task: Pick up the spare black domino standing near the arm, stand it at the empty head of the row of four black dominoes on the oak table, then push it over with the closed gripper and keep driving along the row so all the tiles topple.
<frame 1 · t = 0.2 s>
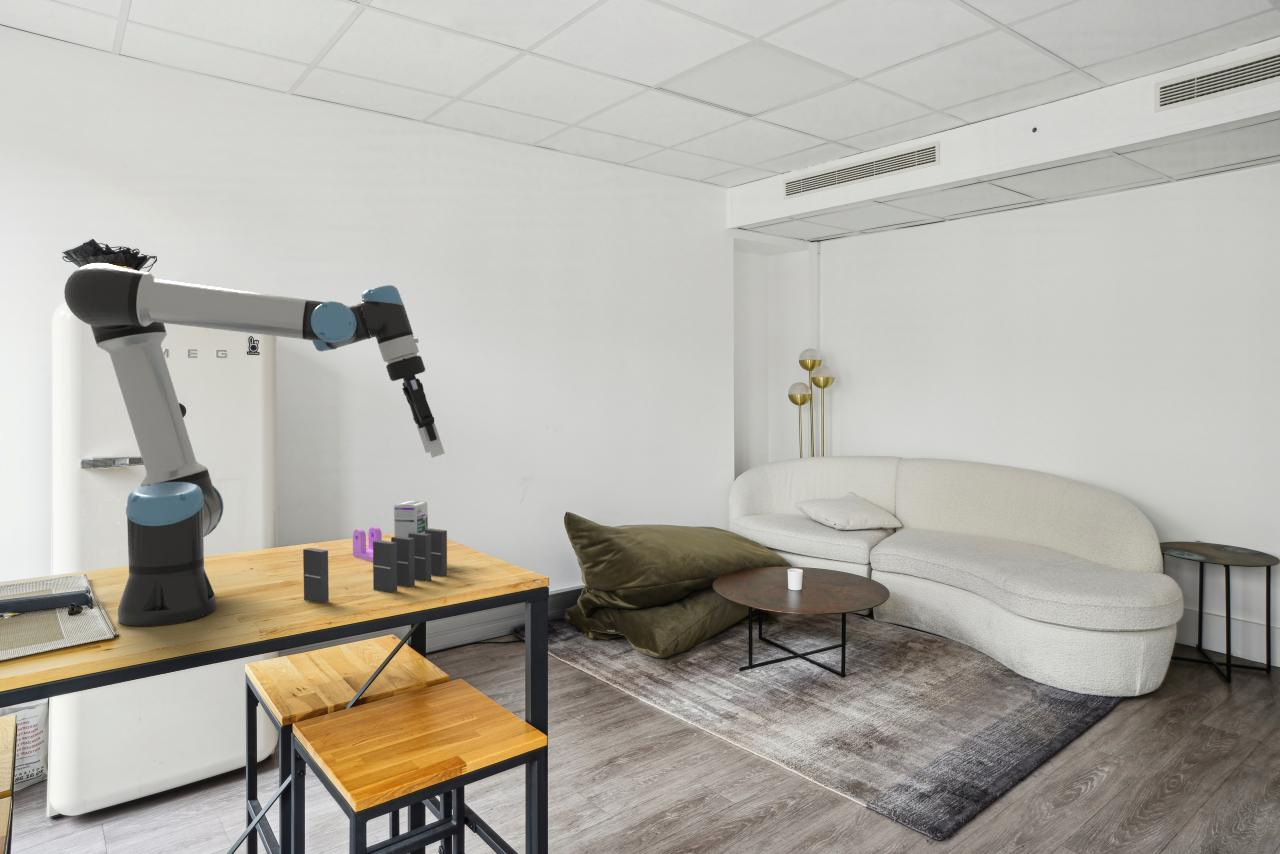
hand: (435, 453, 165), 27 cm above the table, tool tilted 20°, fingers open, 13 cm apart
domino 5: (435, 574, 170), on the table
domino 3: (403, 584, 161), on the table
bracket: (377, 560, 185), on the table
domino 4: (419, 579, 166), on the table
domino 2: (385, 590, 157), on the table
syrup box: (411, 564, 180), on the table
domino 1: (316, 600, 149), on the table
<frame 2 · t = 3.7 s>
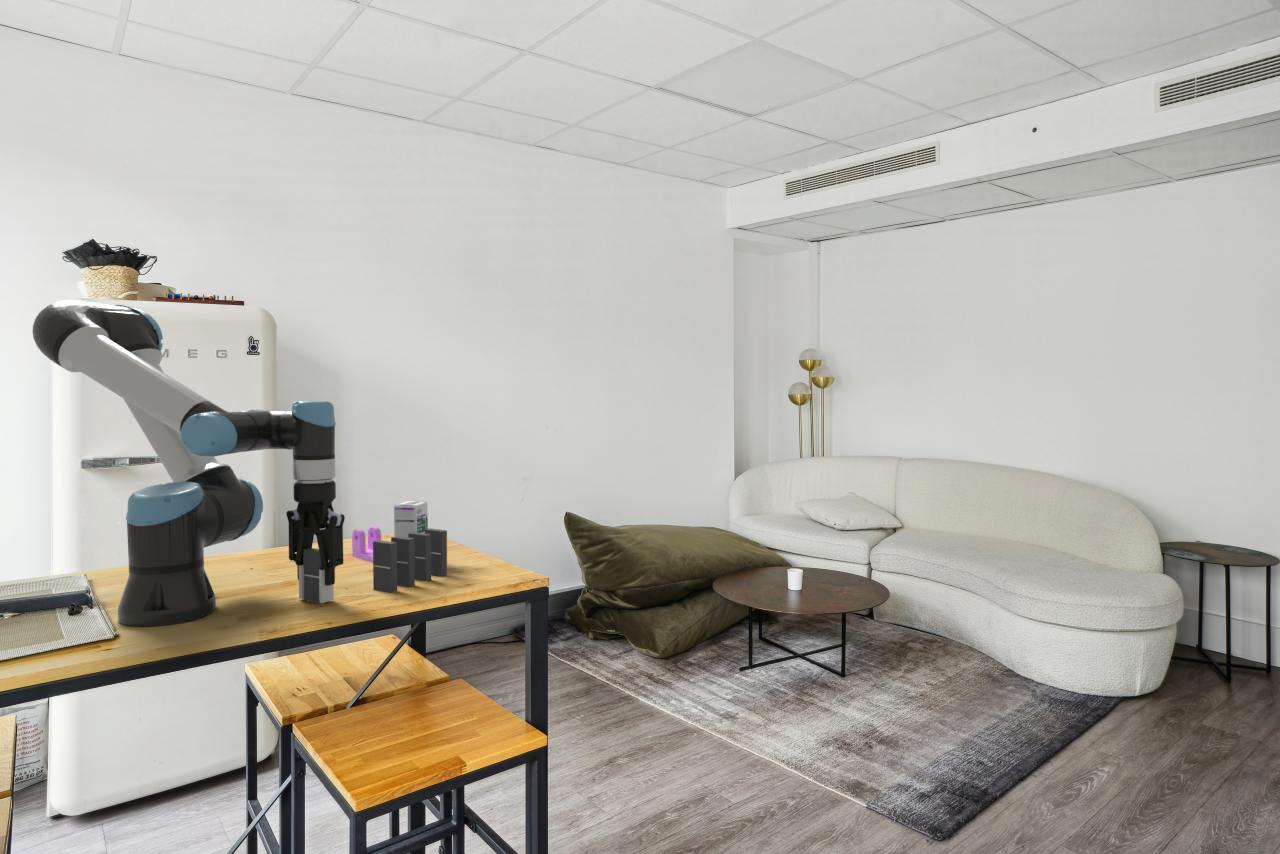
hand: (316, 599, 149), 0 cm above the table, tool pointing down, fingers closed on domino 1, 5 cm apart
domino 1: (316, 600, 149), on the table, touching gripper
everything else where it was.
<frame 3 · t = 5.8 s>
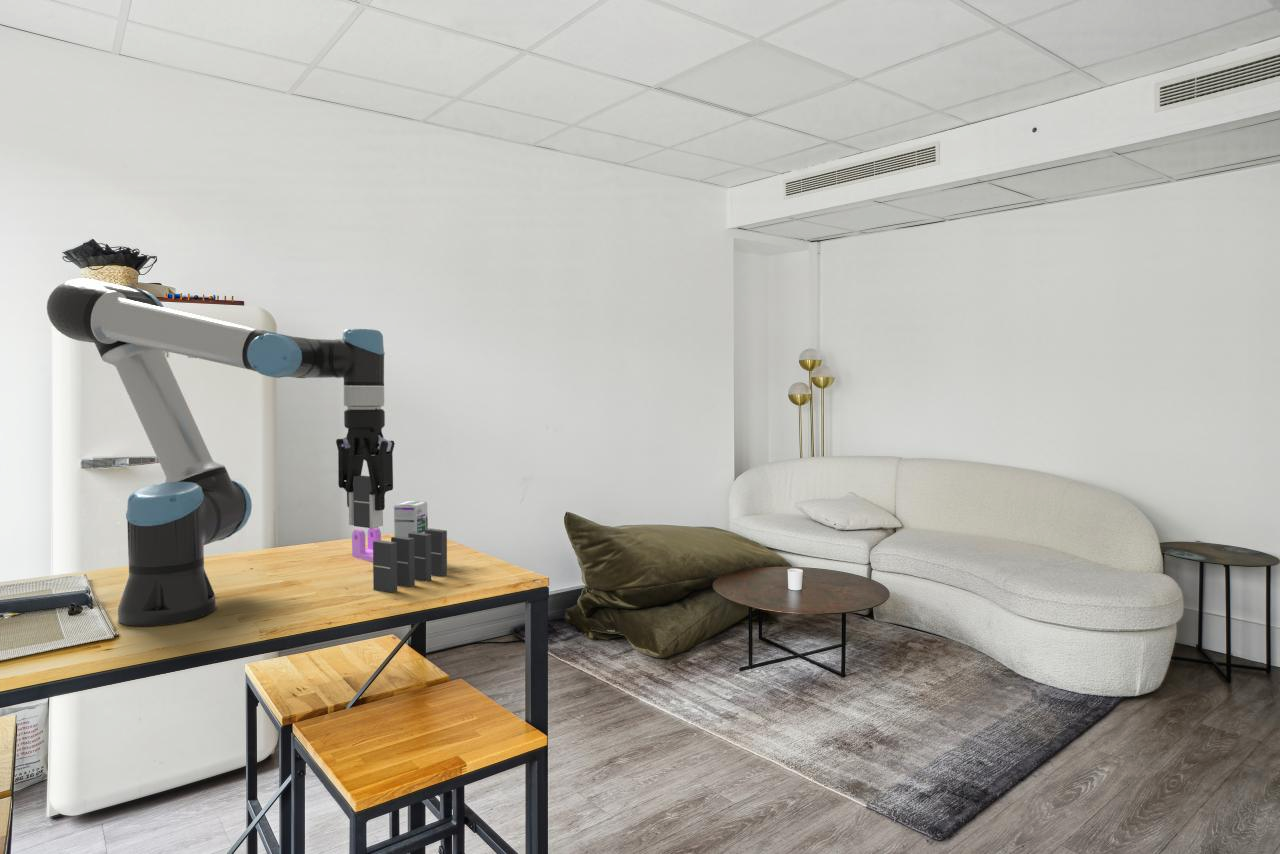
hand: (366, 525, 151), 14 cm above the table, tool pointing down, fingers closed on domino 1, 5 cm apart
domino 1: (365, 526, 151), point 14 cm above the table, touching gripper
everything else where it was.
when the fingers open (1 cm above the table, at t = 8.3 s): domino 1 stays where it is, on the table.
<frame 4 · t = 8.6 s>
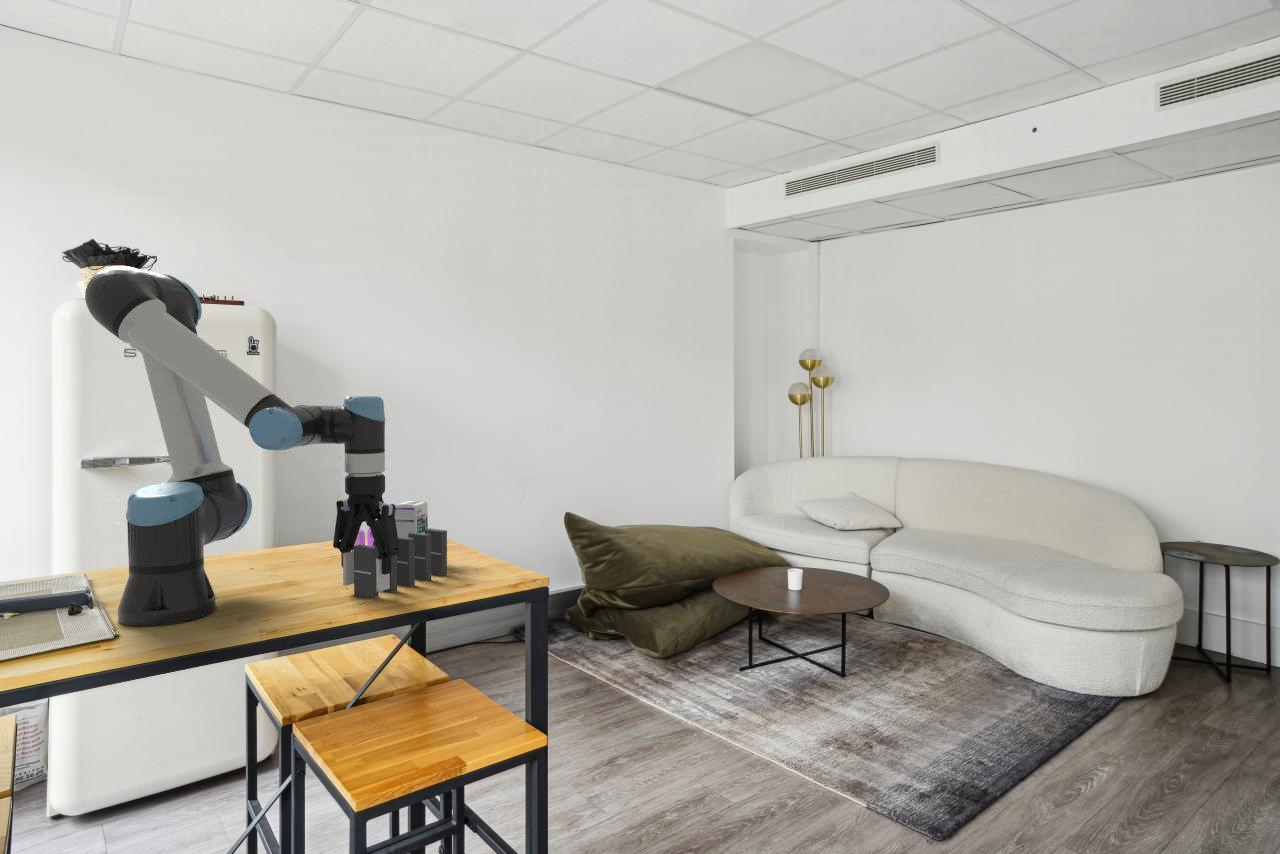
hand: (366, 586, 152), 2 cm above the table, tool pointing down, fingers open, 8 cm apart
domino 1: (366, 596, 152), on the table
everything else where it was.
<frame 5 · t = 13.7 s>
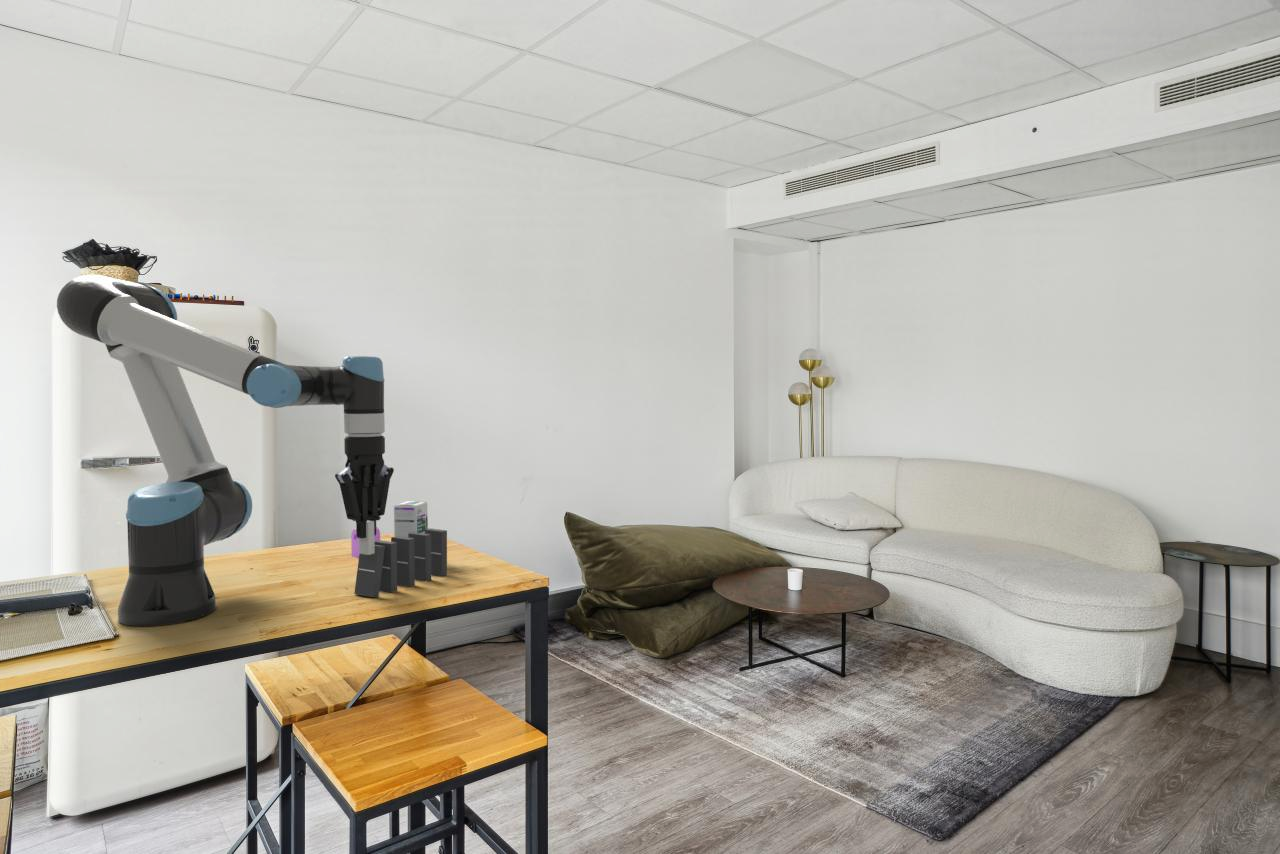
hand: (366, 553, 151), 9 cm above the table, tool pointing down, fingers closed
domino 1: (366, 595, 152), on the table, tilted 10°
everything else where it was.
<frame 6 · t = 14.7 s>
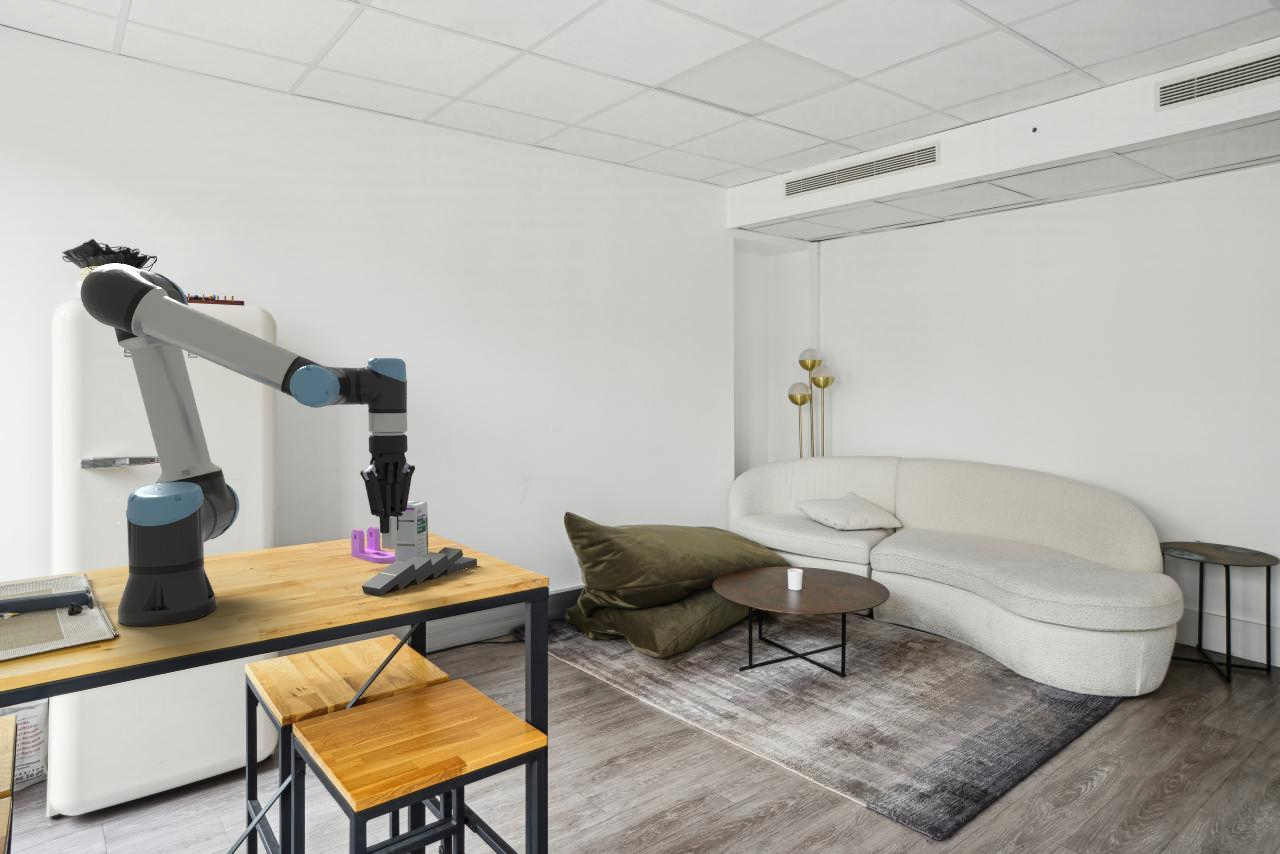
hand: (389, 547, 157), 9 cm above the table, tool pointing down, fingers closed
domino 5: (439, 570, 171), point 1 cm above the table, tilted 89°, touching domino 4
domino 3: (408, 579, 162), point 1 cm above the table, tilted 71°, touching domino 2, domino 4
domino 4: (425, 574, 167), point 1 cm above the table, tilted 71°, touching domino 3, domino 5
domino 2: (390, 585, 158), point 1 cm above the table, tilted 71°, touching domino 1, domino 3
domino 1: (371, 590, 153), point 1 cm above the table, tilted 71°, touching domino 2
everything else where it was.
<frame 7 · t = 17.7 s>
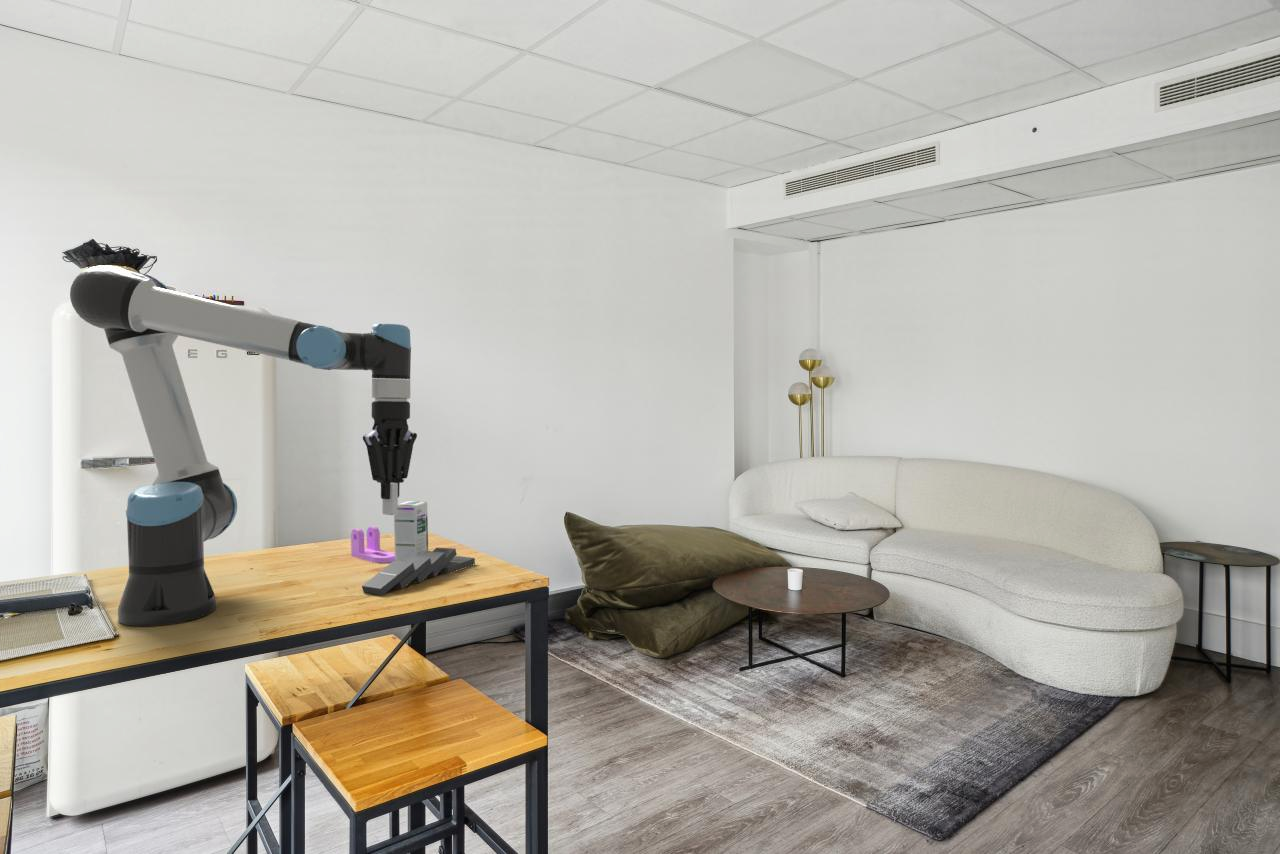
hand: (390, 514, 157), 15 cm above the table, tool pointing down, fingers closed
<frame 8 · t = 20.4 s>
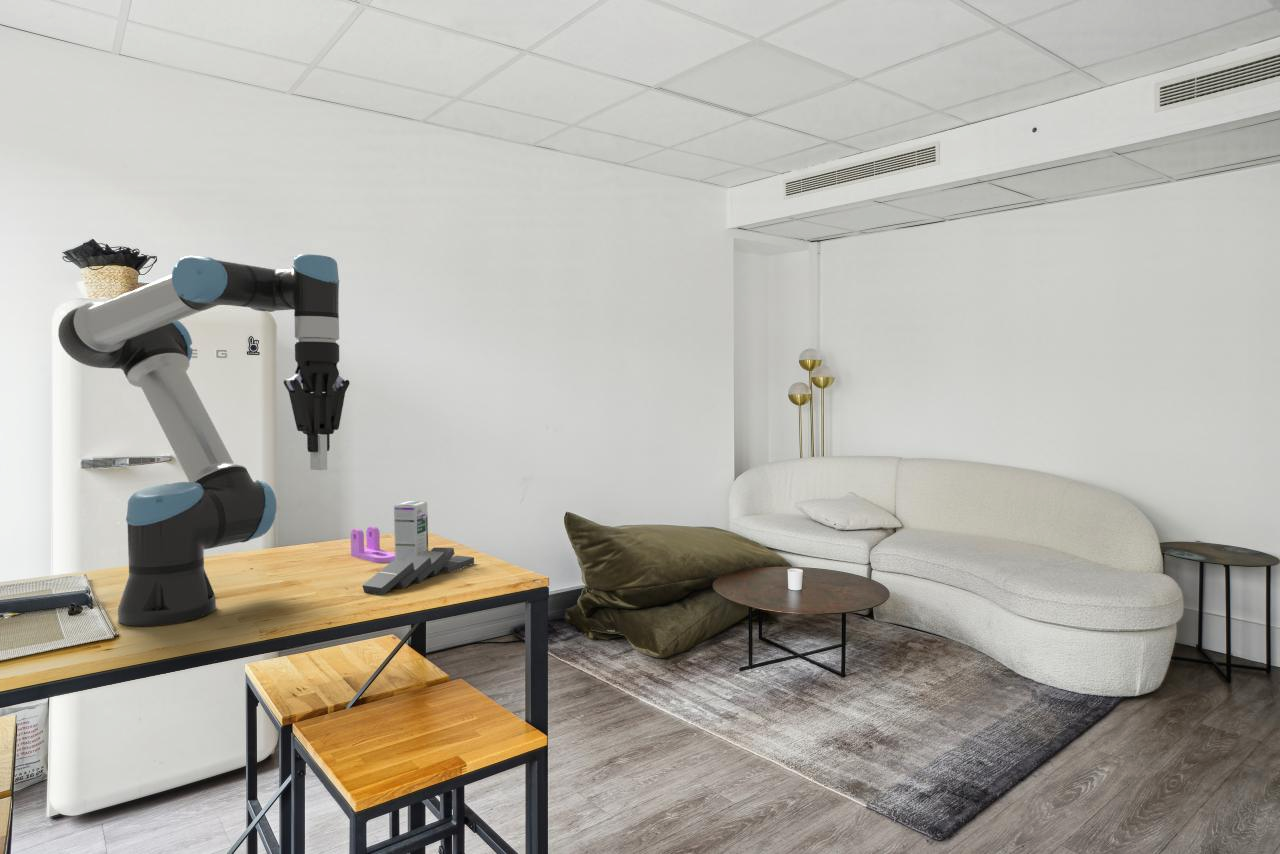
hand: (318, 469, 141), 26 cm above the table, tool pointing down, fingers closed
at the end: domino 5 tilted 89°; domino 3 tilted 71°; domino 1 moved 10.6 cm from its start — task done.
